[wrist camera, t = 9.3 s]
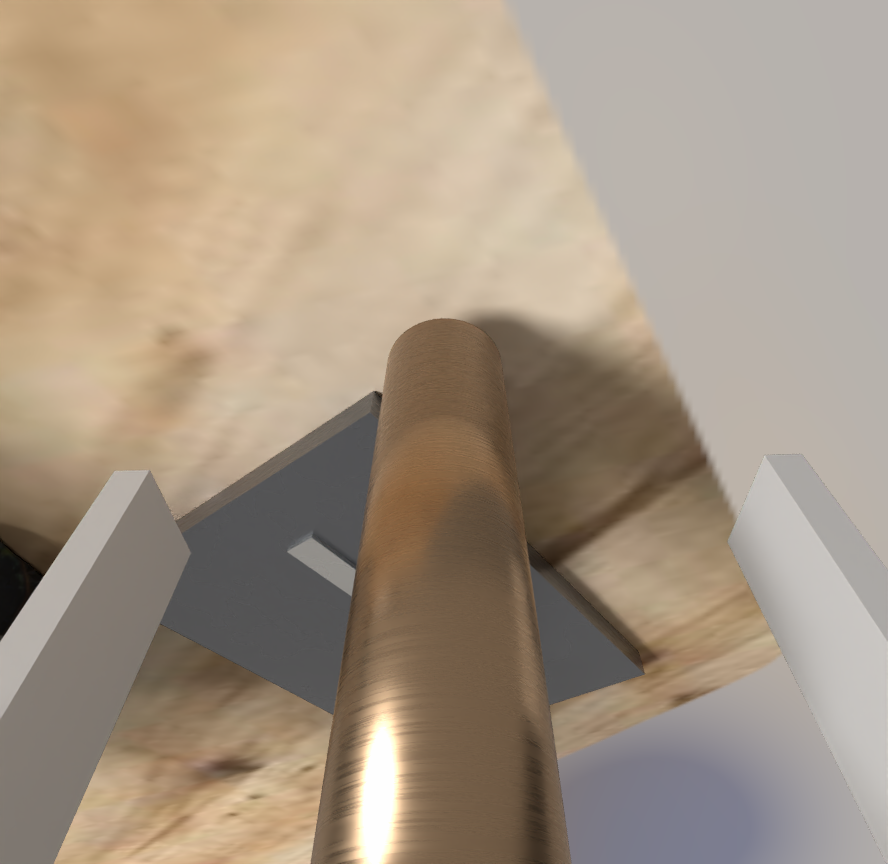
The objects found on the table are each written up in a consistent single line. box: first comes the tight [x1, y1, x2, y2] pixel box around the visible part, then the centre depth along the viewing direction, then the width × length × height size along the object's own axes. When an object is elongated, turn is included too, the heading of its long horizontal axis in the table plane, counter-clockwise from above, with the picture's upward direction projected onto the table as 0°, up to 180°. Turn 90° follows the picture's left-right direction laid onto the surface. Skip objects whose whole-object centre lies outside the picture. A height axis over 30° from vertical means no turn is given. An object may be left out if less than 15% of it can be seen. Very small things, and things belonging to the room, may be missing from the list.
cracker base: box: [160, 391, 645, 714], centre depth 25 cm, size 23×17×7 cm
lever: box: [311, 319, 571, 864], centre depth 18 cm, size 25×5×13 cm, turn 3°
